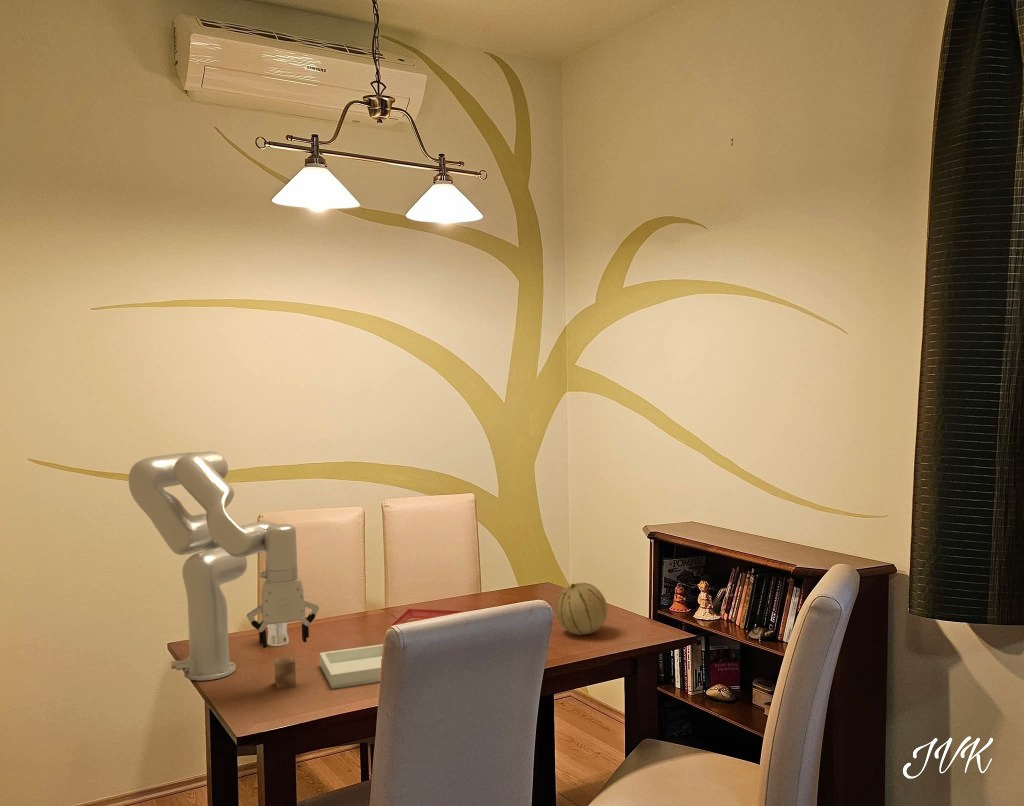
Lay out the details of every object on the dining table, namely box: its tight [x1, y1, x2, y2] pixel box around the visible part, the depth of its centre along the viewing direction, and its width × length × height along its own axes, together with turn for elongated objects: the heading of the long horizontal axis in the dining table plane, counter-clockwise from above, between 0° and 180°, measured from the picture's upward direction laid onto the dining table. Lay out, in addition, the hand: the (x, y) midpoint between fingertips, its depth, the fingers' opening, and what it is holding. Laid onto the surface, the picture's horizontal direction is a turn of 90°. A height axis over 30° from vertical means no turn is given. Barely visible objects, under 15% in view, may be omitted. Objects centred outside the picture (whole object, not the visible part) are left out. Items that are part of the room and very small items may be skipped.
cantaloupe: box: [555, 582, 608, 636], centre depth 253 cm, size 15×15×15 cm
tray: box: [319, 643, 384, 690], centre depth 225 cm, size 18×18×4 cm
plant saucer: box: [388, 608, 464, 628], centre depth 263 cm, size 18×18×3 cm
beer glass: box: [266, 622, 290, 647], centre depth 251 cm, size 7×7×15 cm
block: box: [273, 656, 297, 690], centre depth 218 cm, size 4×4×6 cm
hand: (284, 643), depth 217 cm, fingers open, 9 cm apart
